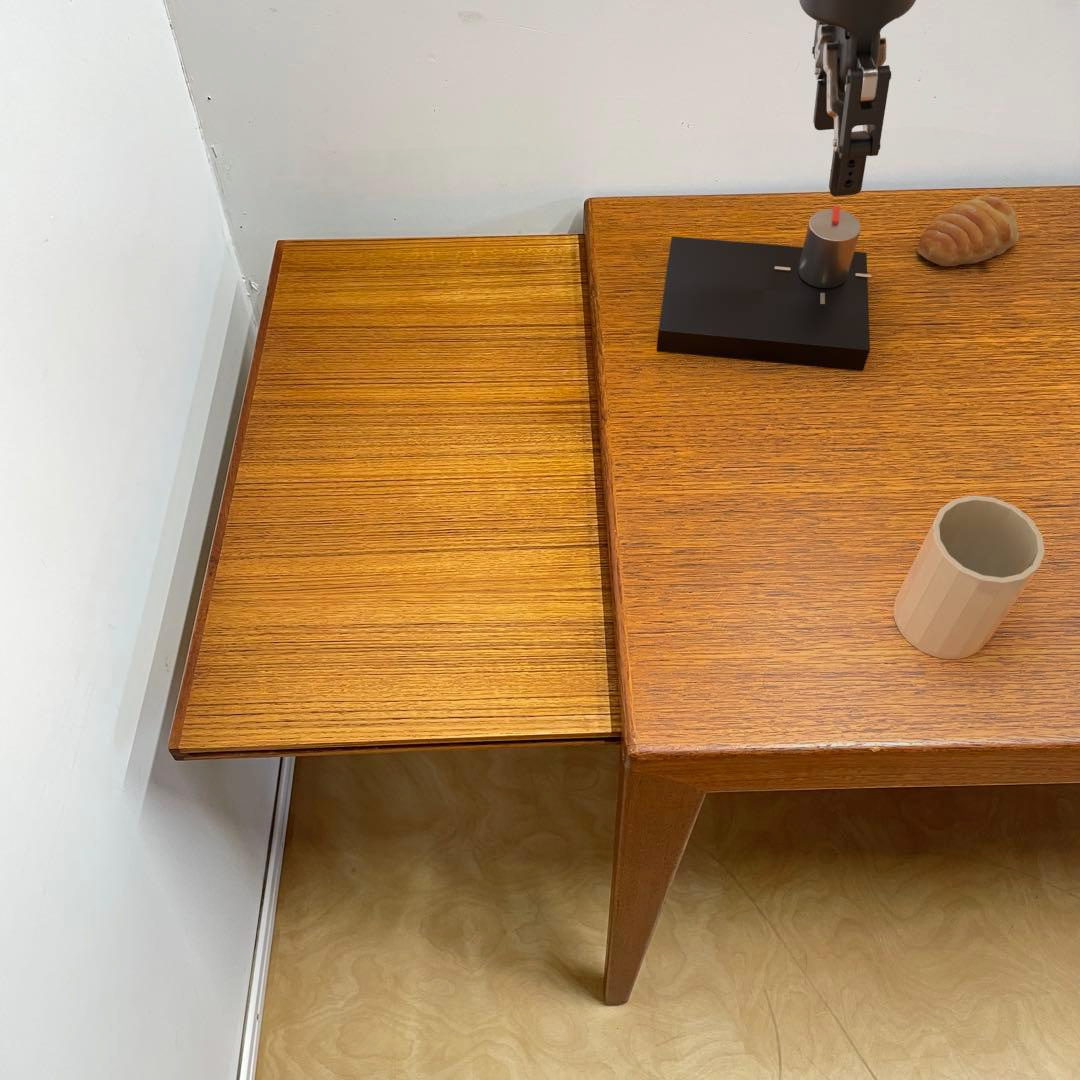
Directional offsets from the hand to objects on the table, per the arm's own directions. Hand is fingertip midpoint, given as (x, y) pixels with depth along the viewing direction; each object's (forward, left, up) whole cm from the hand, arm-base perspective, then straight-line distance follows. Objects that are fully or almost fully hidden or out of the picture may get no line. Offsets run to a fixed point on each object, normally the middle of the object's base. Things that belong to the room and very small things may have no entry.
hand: (835, 159), depth 75 cm
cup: (-11, +28, -18) cm, 35 cm away
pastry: (-16, -15, -18) cm, 28 cm away
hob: (+3, -3, -18) cm, 18 cm away
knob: (-2, -6, -15) cm, 16 cm away
